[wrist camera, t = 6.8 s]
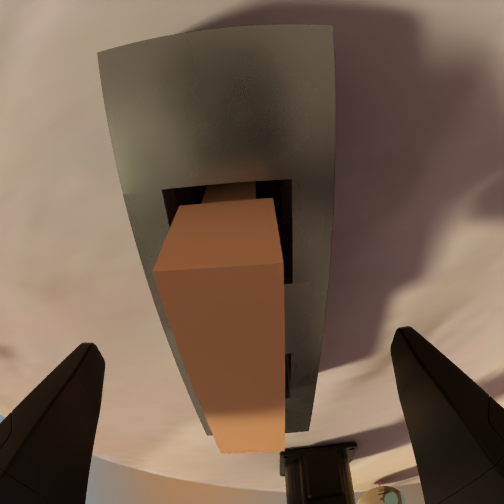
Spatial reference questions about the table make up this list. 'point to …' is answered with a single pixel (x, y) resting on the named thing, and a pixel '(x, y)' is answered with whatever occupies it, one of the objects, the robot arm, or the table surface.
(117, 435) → the table surface
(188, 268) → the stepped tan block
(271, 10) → the table surface
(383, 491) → the figurine
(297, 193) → the rail
